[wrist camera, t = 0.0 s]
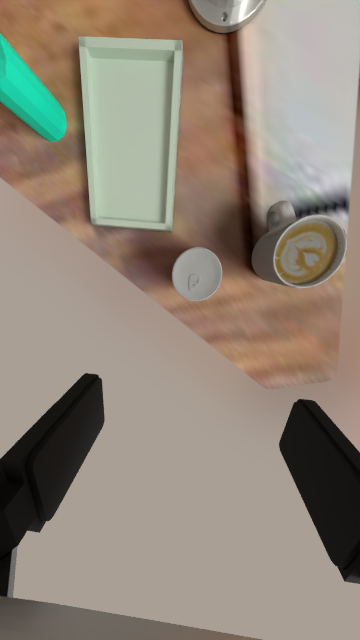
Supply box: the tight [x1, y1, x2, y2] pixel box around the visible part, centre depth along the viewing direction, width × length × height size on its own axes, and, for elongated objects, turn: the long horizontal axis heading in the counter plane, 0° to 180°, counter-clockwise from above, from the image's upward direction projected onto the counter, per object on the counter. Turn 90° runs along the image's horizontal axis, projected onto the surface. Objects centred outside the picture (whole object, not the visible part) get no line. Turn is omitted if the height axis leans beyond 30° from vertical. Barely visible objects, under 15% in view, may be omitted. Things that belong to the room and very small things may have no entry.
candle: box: [0, 33, 67, 141], centre depth 25 cm, size 6×6×12 cm
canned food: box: [172, 247, 222, 301], centre depth 31 cm, size 8×8×11 cm
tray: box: [78, 36, 183, 232], centre depth 30 cm, size 24×15×2 cm, turn 175°
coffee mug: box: [252, 201, 347, 288], centre depth 29 cm, size 13×10×10 cm
